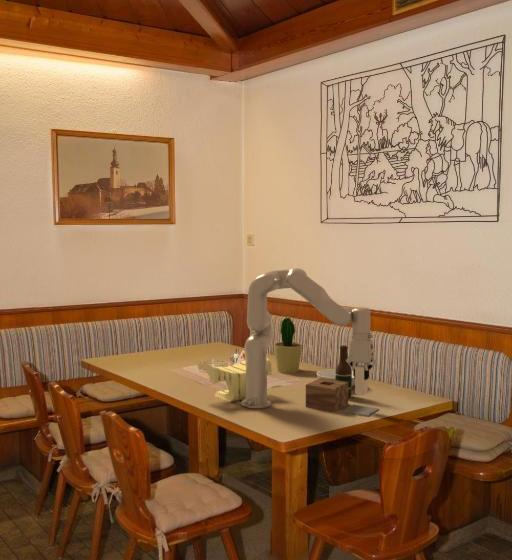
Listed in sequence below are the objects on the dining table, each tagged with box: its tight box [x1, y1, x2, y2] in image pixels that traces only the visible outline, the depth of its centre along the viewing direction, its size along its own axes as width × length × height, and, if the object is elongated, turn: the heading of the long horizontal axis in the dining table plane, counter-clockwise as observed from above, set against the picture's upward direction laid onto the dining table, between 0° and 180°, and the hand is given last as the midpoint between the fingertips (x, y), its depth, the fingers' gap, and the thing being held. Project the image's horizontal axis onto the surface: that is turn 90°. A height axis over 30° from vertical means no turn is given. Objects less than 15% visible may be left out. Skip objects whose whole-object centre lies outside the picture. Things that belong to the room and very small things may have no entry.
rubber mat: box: [341, 404, 380, 417], centre depth 283 cm, size 12×12×1 cm
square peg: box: [354, 364, 369, 396], centre depth 282 cm, size 4×4×12 cm
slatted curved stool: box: [197, 357, 272, 403], centre depth 304 cm, size 30×16×18 cm, turn 122°
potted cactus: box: [273, 317, 303, 374], centre depth 357 cm, size 15×15×30 cm
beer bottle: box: [335, 344, 353, 399], centre depth 305 cm, size 8×8×24 cm
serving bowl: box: [316, 368, 355, 387], centre depth 324 cm, size 21×21×7 cm
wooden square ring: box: [305, 378, 349, 412], centre depth 291 cm, size 14×14×10 cm
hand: (361, 378), depth 282 cm, fingers closed on square peg, 4 cm apart
